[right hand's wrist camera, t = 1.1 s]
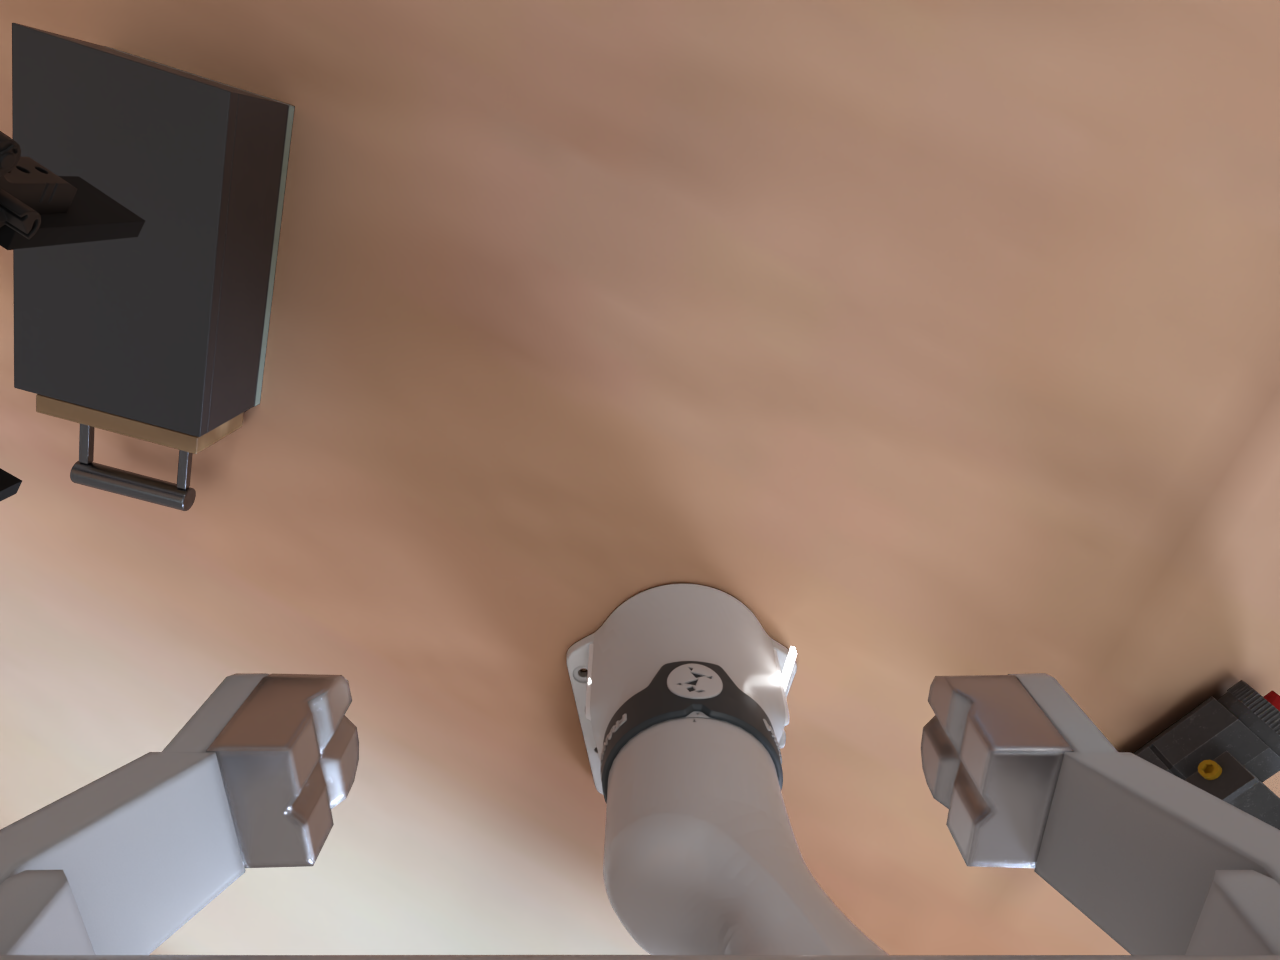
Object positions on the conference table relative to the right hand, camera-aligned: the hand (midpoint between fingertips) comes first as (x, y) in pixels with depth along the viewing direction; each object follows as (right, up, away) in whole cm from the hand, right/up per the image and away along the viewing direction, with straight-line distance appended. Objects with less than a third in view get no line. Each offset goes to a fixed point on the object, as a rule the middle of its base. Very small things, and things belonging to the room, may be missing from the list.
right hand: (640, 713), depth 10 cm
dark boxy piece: (-30, +19, +39) cm, 53 cm away
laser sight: (+44, -21, +55) cm, 74 cm away
